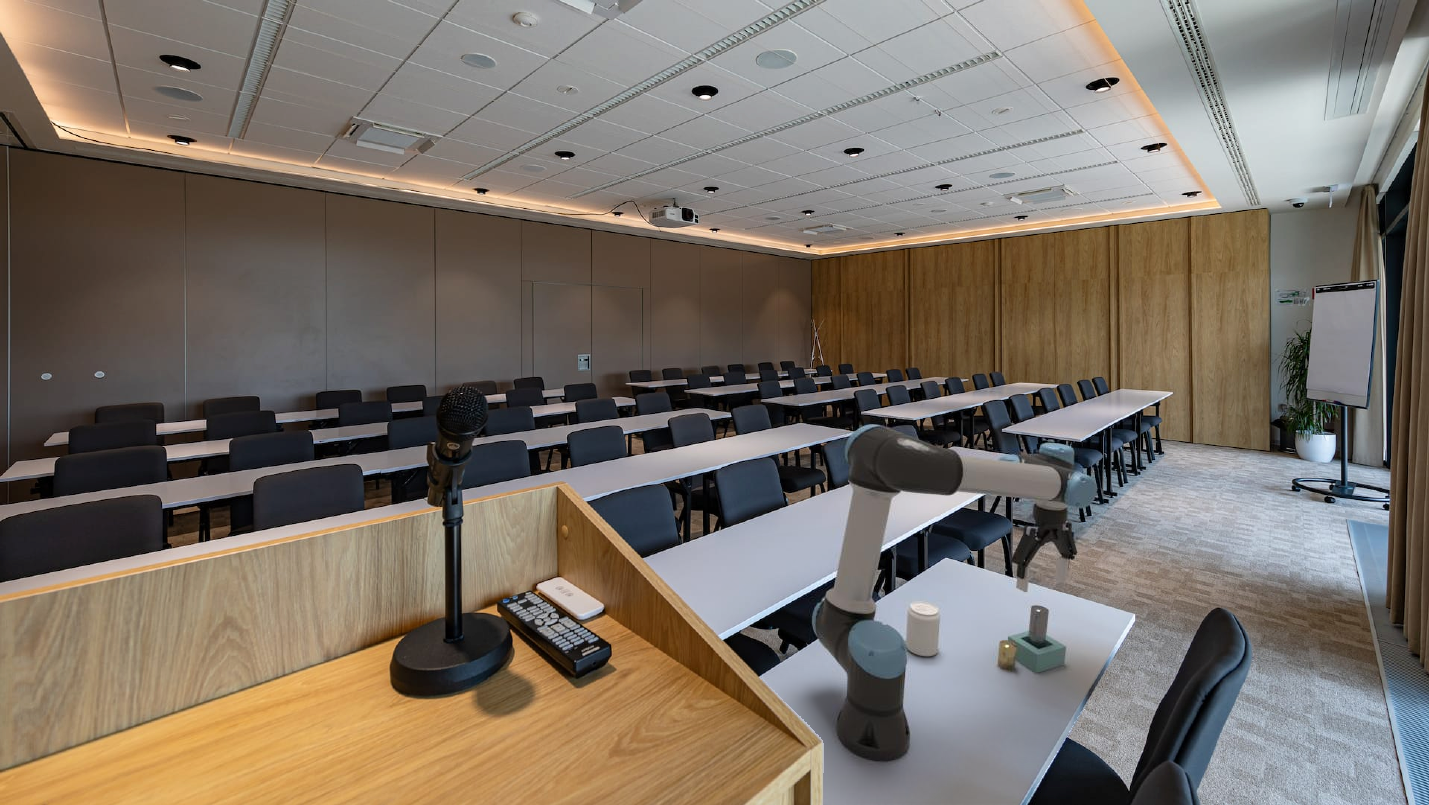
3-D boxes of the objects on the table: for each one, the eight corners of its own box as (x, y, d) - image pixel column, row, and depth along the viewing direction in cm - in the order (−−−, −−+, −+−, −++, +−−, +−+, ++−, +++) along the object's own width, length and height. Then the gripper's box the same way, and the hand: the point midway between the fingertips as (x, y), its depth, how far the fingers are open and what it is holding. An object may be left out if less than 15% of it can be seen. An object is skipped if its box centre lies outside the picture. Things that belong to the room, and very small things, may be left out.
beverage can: (939, 660, 157) (942, 617, 155) (907, 656, 159) (909, 613, 157) (935, 643, 165) (937, 601, 163) (904, 639, 167) (906, 598, 165)
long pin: (1035, 665, 155) (1041, 614, 153) (1022, 656, 159) (1027, 607, 157) (1047, 661, 157) (1052, 611, 154) (1033, 653, 160) (1038, 604, 158)
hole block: (1035, 673, 152) (1037, 654, 151) (1006, 653, 160) (1008, 636, 159) (1064, 664, 156) (1066, 646, 155) (1034, 646, 164) (1035, 628, 163)
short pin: (1006, 672, 152) (1008, 650, 151) (993, 663, 156) (995, 642, 155) (1018, 668, 154) (1020, 647, 153) (1005, 660, 157) (1007, 639, 156)
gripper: (1026, 516, 143) (1017, 600, 146) (1099, 505, 152) (1089, 584, 156) (1000, 506, 150) (992, 586, 153) (1072, 496, 159) (1062, 572, 162)
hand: (1041, 585), depth 154 cm, fingers open, 13 cm apart
